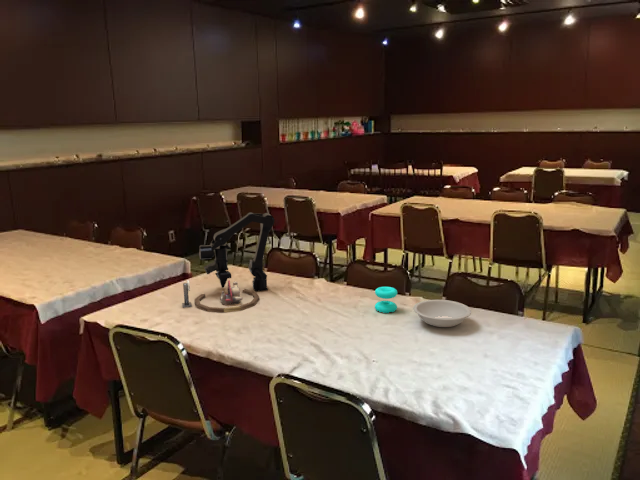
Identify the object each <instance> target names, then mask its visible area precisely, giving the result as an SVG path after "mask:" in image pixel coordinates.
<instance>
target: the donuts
mask: <svg viewBox="0 0 640 480" xmlns="http://www.w3.org/2000/svg"><path fill="white" fill-rule="evenodd" d="M374 294H375V296H376V297H378V298H380V299H384V300H380V301H378V302H376V303H375V305H374V309H375V310H376V311H377V312H378V311H379V312H378V313H381V312H383V313H382V314H390V313H389V312H392V313H395V312H396V311H397V309H398V306H397V304H396V303H395V302H393V301H391V300H390V299H394V298H395V297H397V295H398V290H397V289H396V288H395V287H393V286H392V287H391V286H379V287H377V288H376V289H375V290H374ZM395 310H396V311H395Z"/></svg>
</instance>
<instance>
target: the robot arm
mask: <svg viewBox="0 0 640 480" xmlns="http://www.w3.org/2000/svg"><path fill="white" fill-rule="evenodd" d="M252 222H253V223H258V224H260V227H259V228H260V232H259V235H258V236H259V237H258V241H257V245H256V249H255V254H254V257H253V259H249V265H248V266H247V267H248V271H249V272H250V274H251V275H252V276H253V280H252V288H253V291H254V292H264V291H268V290H269V289H268V283H267V281H268V275H267V274H266V272H265V271H264V262H263V259H264V255H265V250H266V247H267V241H268V238H269V234H270V232H271V230H272V228H273V226H274V224H275V218H274V217H273V215H271V214H270V213H268V212H265V213H254V212H248V213H246V215H244V216H242V217H241V218H240V219H238V220H237V221H236V222H234V223H232V224H231V225H230V226H228V227H227V228H223V229H221V230H218V231H217V232H215V233H214V234H213V239H212V241H211V242H210V243H209V245H206V244H205V245H203V244H201V245H199V251H198V252H199V259H200V260H211V259H213V258H214V259H213V262H211V263H208V264H206V265H204V266H203V268H204V271H205V273H206V275H210V274H212V273H214V272H215V276H216V277H217V279H218V281H219V283H220V287H221V288H222V289H224V288H225V287H226V284H227V282H228V280H229V279H232V273H231V272H230V271H229V267H228V262H229V260H228V255H227V254H228V253H227V251H228V249H231V246H230V245H229V244H228V243H227V242H229V241H230V239H231V238H232V237H233V235H235V234H237V233H238V232H240V231H241V230H242V229H244V228H245V227H246V226H248V225H249V224H250V223H252Z"/></svg>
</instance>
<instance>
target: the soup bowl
mask: <svg viewBox="0 0 640 480" xmlns="http://www.w3.org/2000/svg"><path fill="white" fill-rule="evenodd" d="M412 310H413V312H414V313H415V314H417V315H418V316H419V318H420V319H421V320H422V321H423V322H424V323H426V324H428V325H431V326H432V327H433V326H434V327H438V328H450V327H455V326H458V325H460V324H461V323H463V322H464V321H465V320H466V318H469V317H470V316H471V315H472V309H471V308H470V307H469V306H468V305H466V304H463V303H461V302H458V301H455V300H454V301H453V300H448V299H428V300H426V299H425V300H422V301H420V302H419V301H418V302H417V303H415V304H414V305H413V307H412ZM438 316H440V317H442V316H448V317H452V318H435V317H438Z"/></svg>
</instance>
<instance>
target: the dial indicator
mask: <svg viewBox="0 0 640 480" xmlns="http://www.w3.org/2000/svg"><path fill="white" fill-rule="evenodd" d="M190 283H191V282H190V279H187V280H186V282H184V283H182V287H183V298H184V301H183V302H182V303H181V306H182V308H183V309H185V308H191V307H193V306H192V302H191V301H190V300H189V291H191V285H190Z"/></svg>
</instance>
